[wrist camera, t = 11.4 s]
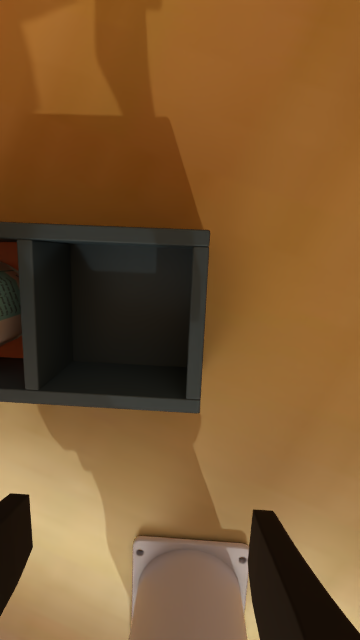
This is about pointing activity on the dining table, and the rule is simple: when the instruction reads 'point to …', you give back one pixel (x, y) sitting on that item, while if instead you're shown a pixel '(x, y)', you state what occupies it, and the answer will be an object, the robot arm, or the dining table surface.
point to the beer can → (9, 304)
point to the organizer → (106, 316)
